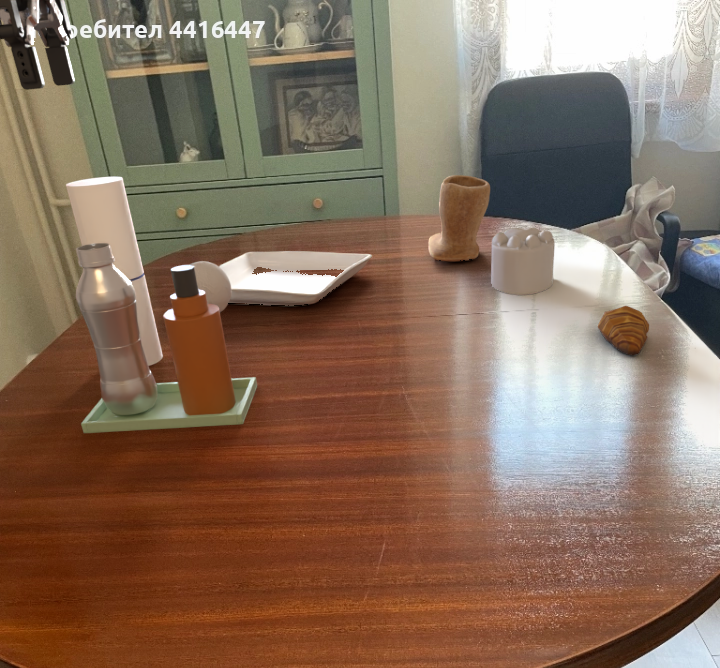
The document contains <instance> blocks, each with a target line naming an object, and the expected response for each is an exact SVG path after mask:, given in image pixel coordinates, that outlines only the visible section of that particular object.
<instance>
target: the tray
mask: <svg viewBox="0 0 720 668" xmlns="http://www.w3.org/2000/svg"><path fill="white" fill-rule="evenodd" d="M232 384H233V390H234V395H235V401H236V403H235V405H234V407H233V408H231V409H230V410H228V411H226V412H224V413H222V414H206V415H188V414H186V413H185V412H184V408H183V404H182V399H181V395H180V390H179V386H178V381H171V382H156V385H157V400H156V402H155V404H154V406H153V407H152V408H150V409H148V410H146V411H144V412H141V413H137V414H132V415H118V414H114V413H113V412H111V411H110V410H109V409H108V408H107V407H106V405H105V403H104V401H103V398H102V397H101V398H100V399H99V400H98V402H97V403H96V404H95V405H94V407H93V408H92V409H91V411H90V412H89V413H88V414H87V415H86V417H85V418H84V419H83V420H82V422H81V423H80V425H81V429H82V432H83V434H93V433H94V434H95V433H109V432H128V431H144V430H145V431H146V430H161V429H162V430H163V429H179V428H195V427H196V428H197V427H215V426H216V427H217V426H230V425H231V426H233V425H244V423H245V419H246V417H247V415H248V412H249V409H250V407H251V404H252V401H253V398H254V396H255V394H256V390H257V388H258V382H257V377H256V376H251V377H250V376H249V377H237V378H236V377H235V378H232Z"/></svg>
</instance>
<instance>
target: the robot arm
mask: <svg viewBox="0 0 720 668" xmlns="http://www.w3.org/2000/svg"><path fill="white" fill-rule="evenodd" d="M34 31H36V32H37V34H38V35H39V37H40V40H41V41H42V43H43V45H44V47H45V48H44V50H45V54H46V57H47V61H48V65H49V69H50V74H51V78H52V80H53V83H54V85H56V86H57V87H58V86H71V85H74V83H75V75H74V70H73V67H72V63H71V59H70V53H69V51H68V45H69V43H70V42H69V40H70V39H71V40H72V39H73V38H74V32H73V30H72V26H71V21H70V19H69V14H68V10H67V5H66V2H65V0H0V40H4V43H5V45H6V47H8V48H10V50H11V53H12V54H11V55H12V58H13V62H14V64H15V68H16V72H17V75H18V79H19V82H20V86H21V87H22V89H24V90H25V91H27V90H39V89H43V88H44V87H45V86H46V85H45V80H44V76H43V72H42V68H41V63H40V60H39V57H38V53H37V52H38V51H37V50H36V46H34Z"/></svg>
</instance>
